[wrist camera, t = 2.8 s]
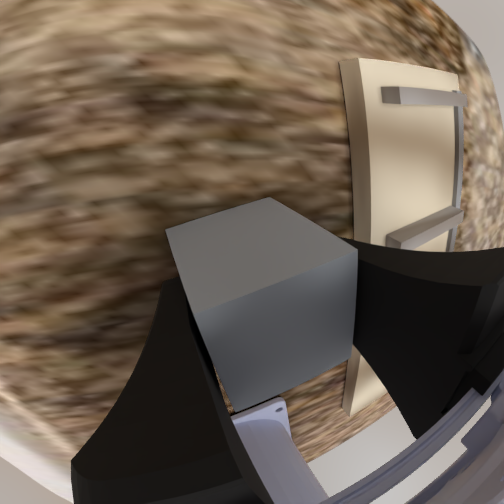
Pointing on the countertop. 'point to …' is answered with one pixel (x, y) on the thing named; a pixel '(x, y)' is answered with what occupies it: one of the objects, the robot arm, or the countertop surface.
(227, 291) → the finger part
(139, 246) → the countertop surface
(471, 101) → the countertop surface
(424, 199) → the rail
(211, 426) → the robot arm
